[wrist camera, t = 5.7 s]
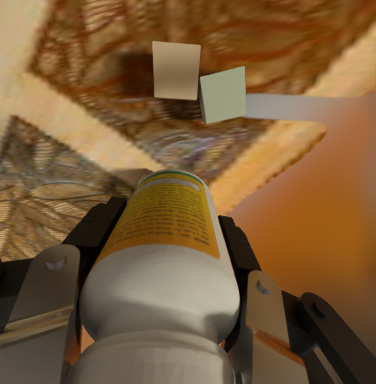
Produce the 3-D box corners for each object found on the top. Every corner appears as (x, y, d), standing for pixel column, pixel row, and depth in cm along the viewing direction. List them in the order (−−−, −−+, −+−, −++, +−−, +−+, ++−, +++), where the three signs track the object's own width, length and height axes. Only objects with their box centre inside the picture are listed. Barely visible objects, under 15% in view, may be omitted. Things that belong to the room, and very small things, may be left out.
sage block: (196, 82, 23) (199, 77, 18) (232, 73, 23) (244, 65, 18) (202, 120, 25) (206, 123, 21) (235, 113, 25) (246, 114, 20)
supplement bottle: (224, 209, 12) (318, 458, 4) (165, 240, 13) (136, 474, 5) (183, 149, 10) (184, 432, 1) (117, 192, 11) (-81, 472, 3)
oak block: (158, 54, 21) (152, 41, 17) (197, 57, 22) (200, 45, 17) (159, 98, 24) (154, 97, 19) (194, 100, 24) (196, 99, 20)
